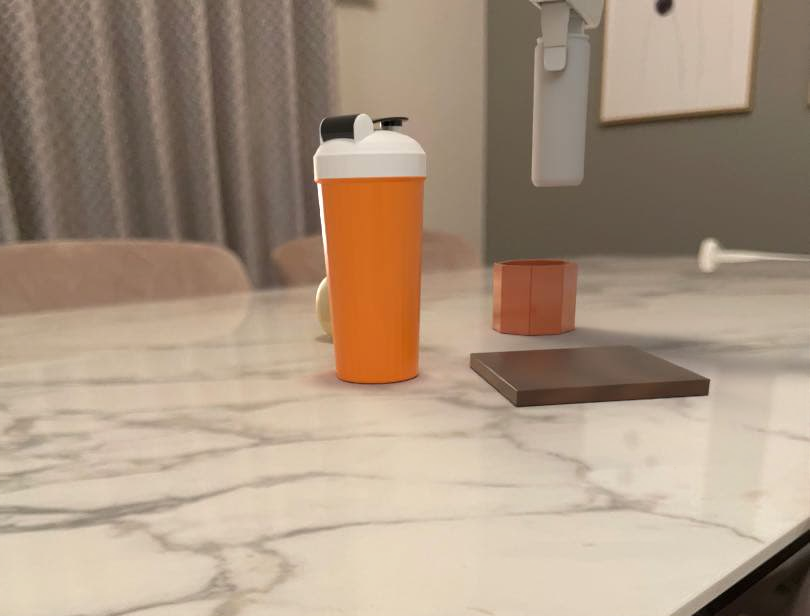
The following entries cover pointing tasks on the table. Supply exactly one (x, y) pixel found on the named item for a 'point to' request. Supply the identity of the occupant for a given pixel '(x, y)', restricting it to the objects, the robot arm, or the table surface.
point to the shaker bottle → (372, 244)
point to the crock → (534, 296)
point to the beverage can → (560, 116)
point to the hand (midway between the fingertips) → (562, 75)
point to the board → (585, 375)
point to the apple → (324, 307)
